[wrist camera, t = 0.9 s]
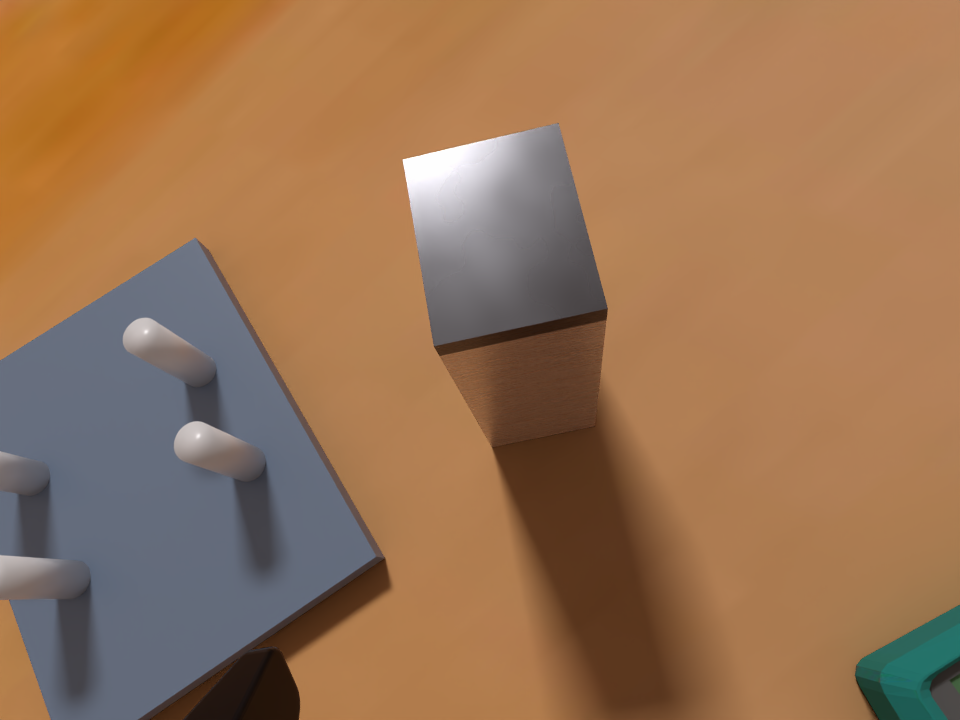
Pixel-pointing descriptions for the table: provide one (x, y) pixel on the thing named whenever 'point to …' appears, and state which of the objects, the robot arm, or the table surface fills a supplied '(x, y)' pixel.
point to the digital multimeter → (916, 673)
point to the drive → (511, 282)
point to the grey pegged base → (160, 495)
